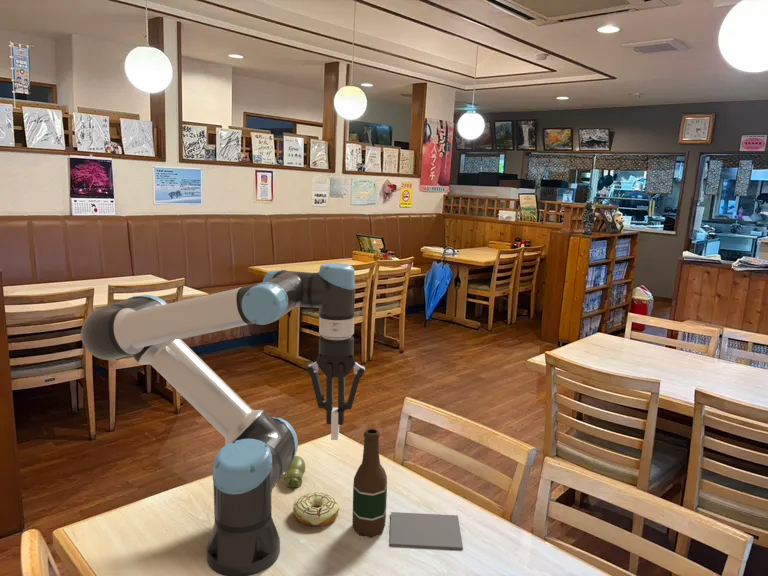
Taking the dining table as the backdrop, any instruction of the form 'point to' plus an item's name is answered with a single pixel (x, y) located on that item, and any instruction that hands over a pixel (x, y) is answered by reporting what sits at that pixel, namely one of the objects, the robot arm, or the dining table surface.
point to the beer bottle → (370, 490)
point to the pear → (295, 473)
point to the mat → (425, 530)
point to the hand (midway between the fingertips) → (335, 437)
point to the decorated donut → (316, 509)
